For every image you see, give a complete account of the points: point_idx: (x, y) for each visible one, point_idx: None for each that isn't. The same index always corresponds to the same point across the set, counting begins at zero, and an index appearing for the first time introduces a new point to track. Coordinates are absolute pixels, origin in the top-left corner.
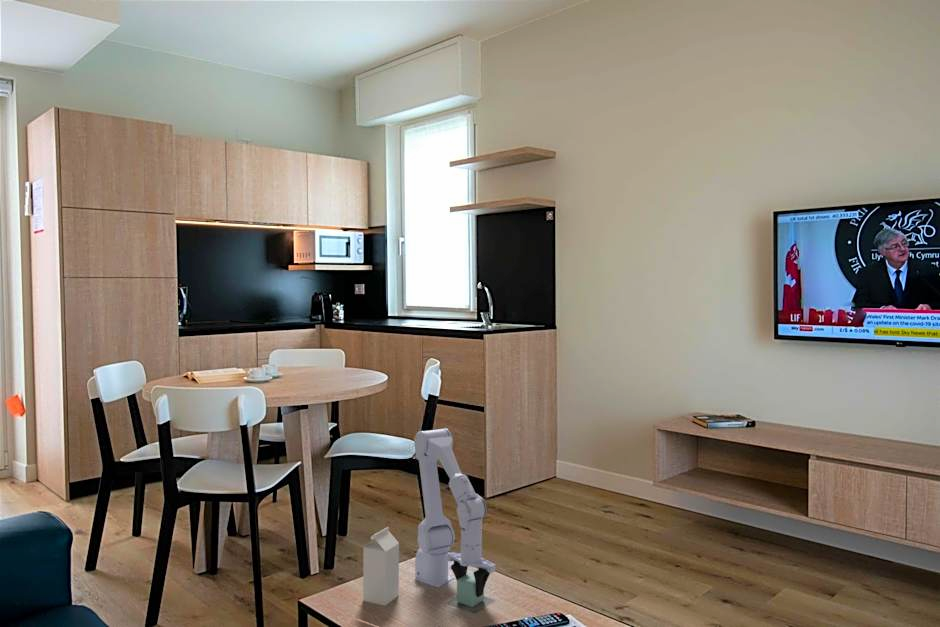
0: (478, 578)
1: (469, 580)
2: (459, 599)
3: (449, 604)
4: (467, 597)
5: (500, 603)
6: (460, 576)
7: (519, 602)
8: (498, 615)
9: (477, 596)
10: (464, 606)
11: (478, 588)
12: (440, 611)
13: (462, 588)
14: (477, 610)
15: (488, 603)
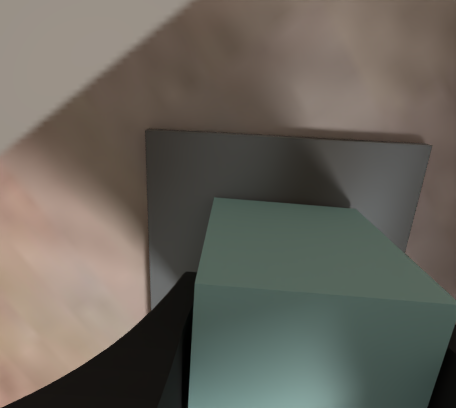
0: (76, 393)
1: (298, 366)
2: (340, 215)
3: (390, 147)
4: (262, 221)
5: None
6: (454, 391)
7: None
8: (26, 214)
9: (195, 272)
10: (273, 182)
11: (155, 306)
12: (409, 24)
13: (336, 254)
14: (160, 180)
15: None
